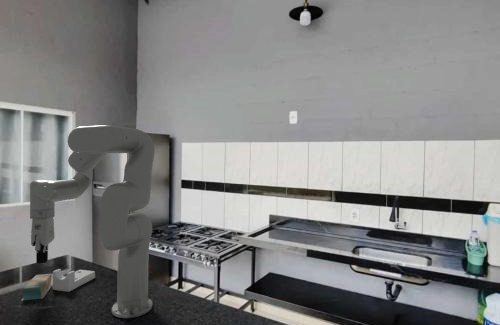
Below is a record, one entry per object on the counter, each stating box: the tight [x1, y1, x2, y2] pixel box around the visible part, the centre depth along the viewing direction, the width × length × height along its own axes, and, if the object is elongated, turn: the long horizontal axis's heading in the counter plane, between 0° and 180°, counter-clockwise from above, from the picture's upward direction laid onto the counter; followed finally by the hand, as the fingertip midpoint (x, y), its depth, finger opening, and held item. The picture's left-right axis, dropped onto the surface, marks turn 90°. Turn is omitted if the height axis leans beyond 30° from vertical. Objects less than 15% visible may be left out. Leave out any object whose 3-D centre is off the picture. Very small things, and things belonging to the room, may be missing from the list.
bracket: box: [52, 268, 96, 293], centre depth 117 cm, size 13×7×8 cm, turn 167°
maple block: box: [22, 273, 52, 301], centre depth 109 cm, size 4×5×12 cm
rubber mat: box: [20, 276, 53, 301], centre depth 113 cm, size 19×6×1 cm, turn 18°
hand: (42, 262), depth 113 cm, fingers closed
